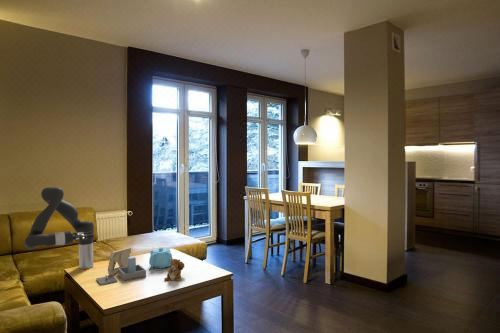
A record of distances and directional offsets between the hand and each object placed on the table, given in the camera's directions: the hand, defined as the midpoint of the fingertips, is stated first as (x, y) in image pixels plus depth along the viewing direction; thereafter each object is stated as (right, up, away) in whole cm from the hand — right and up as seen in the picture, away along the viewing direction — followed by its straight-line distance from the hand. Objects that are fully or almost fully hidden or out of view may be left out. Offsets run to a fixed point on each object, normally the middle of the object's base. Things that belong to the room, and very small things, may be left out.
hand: (92, 234), depth 222 cm
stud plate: (+9, -30, +1) cm, 31 cm away
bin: (+22, -29, +11) cm, 38 cm away
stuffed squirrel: (+52, -29, +5) cm, 60 cm away
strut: (+22, -29, +11) cm, 37 cm away
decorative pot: (+36, -29, +30) cm, 55 cm away
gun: (+9, -30, +24) cm, 39 cm away
